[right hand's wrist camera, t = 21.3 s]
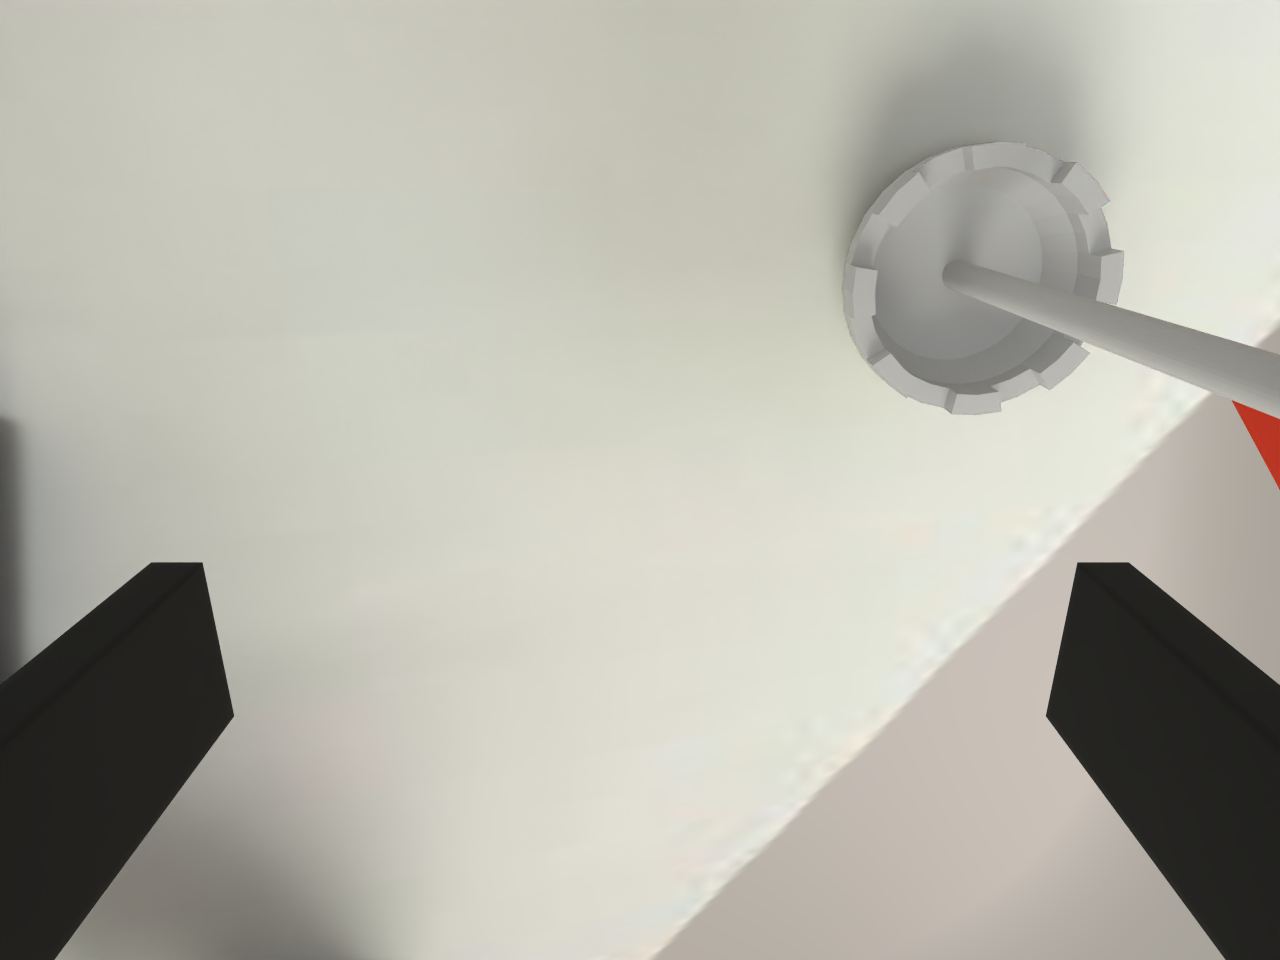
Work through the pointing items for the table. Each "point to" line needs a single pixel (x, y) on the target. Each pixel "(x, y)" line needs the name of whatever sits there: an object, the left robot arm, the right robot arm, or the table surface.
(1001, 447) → the table surface
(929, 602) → the table surface
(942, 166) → the flag stand
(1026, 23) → the table surface
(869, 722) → the table surface
